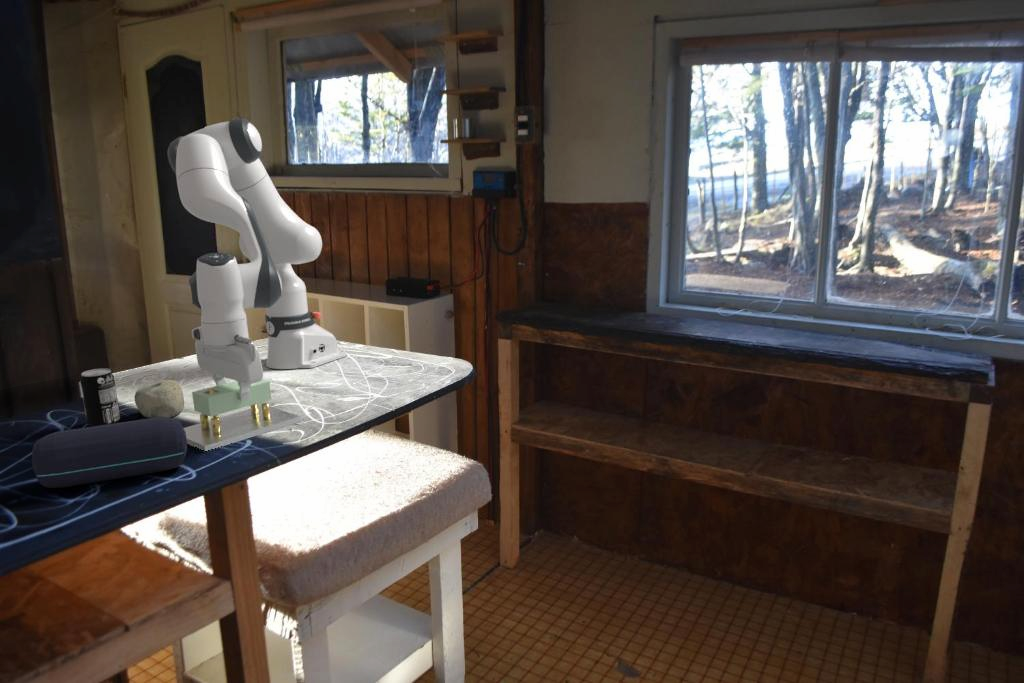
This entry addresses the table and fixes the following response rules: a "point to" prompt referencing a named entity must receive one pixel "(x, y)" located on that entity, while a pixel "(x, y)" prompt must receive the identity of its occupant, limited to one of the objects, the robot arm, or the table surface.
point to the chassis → (237, 426)
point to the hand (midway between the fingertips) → (233, 396)
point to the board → (229, 397)
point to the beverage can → (100, 397)
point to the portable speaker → (109, 452)
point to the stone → (160, 399)
